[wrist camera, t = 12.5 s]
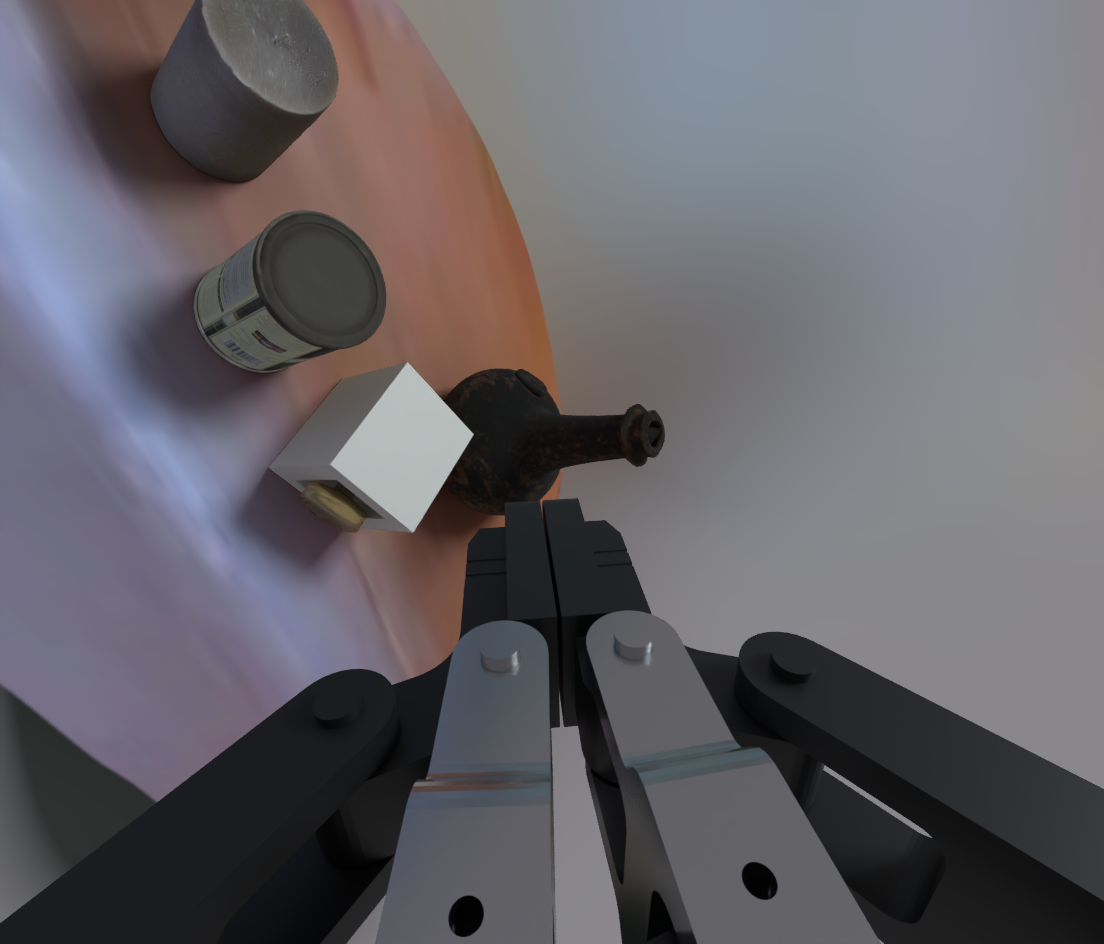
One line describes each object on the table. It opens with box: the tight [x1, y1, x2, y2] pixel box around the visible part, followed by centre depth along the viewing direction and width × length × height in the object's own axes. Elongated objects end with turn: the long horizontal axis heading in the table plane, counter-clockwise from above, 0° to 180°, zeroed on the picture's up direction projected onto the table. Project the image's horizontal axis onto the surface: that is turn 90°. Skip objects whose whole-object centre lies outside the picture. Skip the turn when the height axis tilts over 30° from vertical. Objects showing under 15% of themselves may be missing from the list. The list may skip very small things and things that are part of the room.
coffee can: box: [193, 210, 386, 373], centre depth 46 cm, size 10×10×14 cm
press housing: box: [268, 362, 474, 533], centre depth 53 cm, size 12×10×12 cm
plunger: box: [299, 482, 367, 533], centre depth 52 cm, size 12×6×6 cm, turn 144°
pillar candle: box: [150, 0, 339, 181], centre depth 43 cm, size 10×10×15 cm
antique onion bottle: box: [444, 369, 665, 515], centre depth 61 cm, size 18×18×28 cm
